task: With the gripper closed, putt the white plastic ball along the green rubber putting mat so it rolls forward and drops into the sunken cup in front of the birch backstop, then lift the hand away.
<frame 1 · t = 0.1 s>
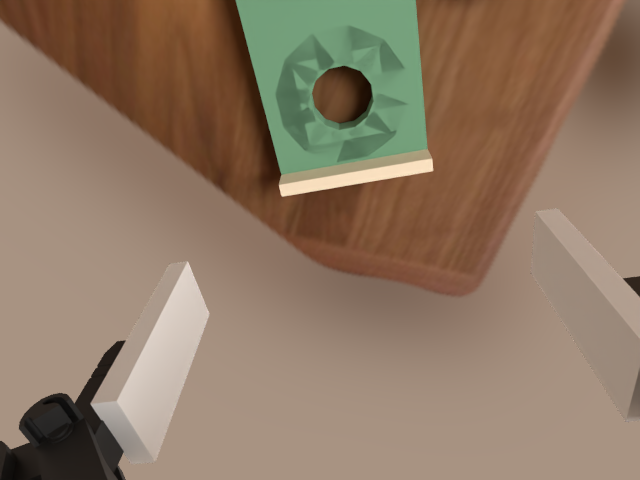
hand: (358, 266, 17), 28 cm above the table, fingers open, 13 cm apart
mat: (329, 22, 38), on the table
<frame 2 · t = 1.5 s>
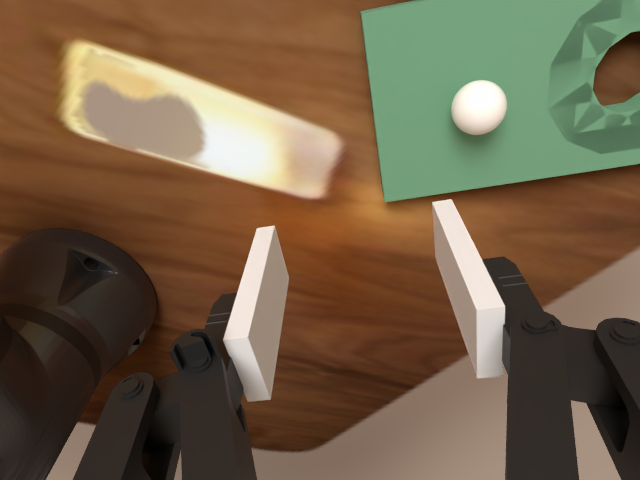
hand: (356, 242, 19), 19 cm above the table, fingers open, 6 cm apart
ball: (478, 107, 30), point 4 cm above the table, touching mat
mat: (533, 82, 33), on the table
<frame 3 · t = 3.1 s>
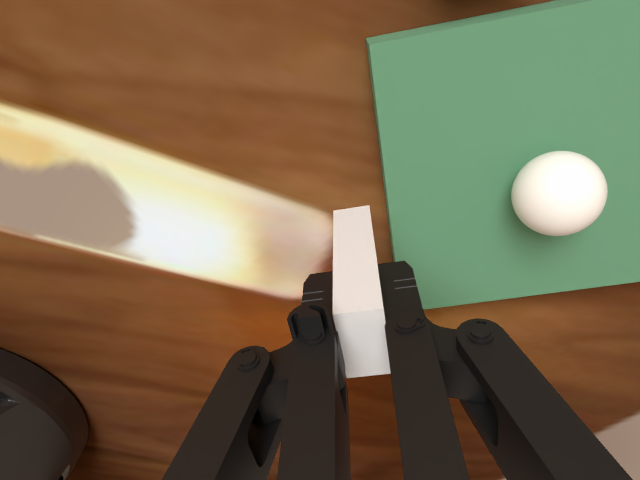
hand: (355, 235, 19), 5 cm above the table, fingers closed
ball: (557, 193, 19), point 4 cm above the table, touching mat
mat: (630, 143, 22), on the table
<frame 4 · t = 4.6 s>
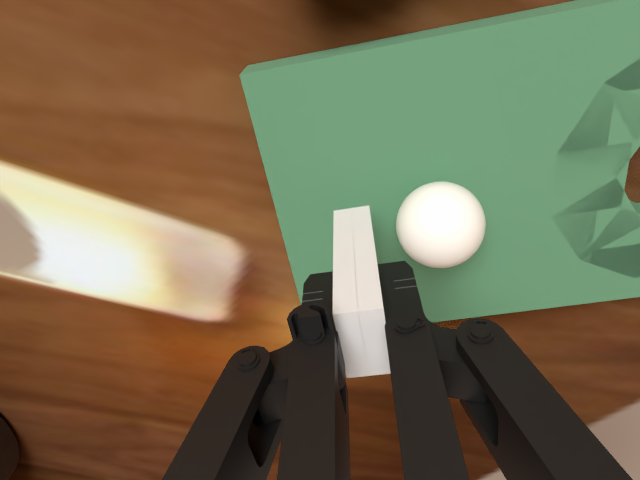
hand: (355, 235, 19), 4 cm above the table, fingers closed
ball: (439, 224, 19), point 4 cm above the table, touching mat
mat: (529, 170, 21), on the table
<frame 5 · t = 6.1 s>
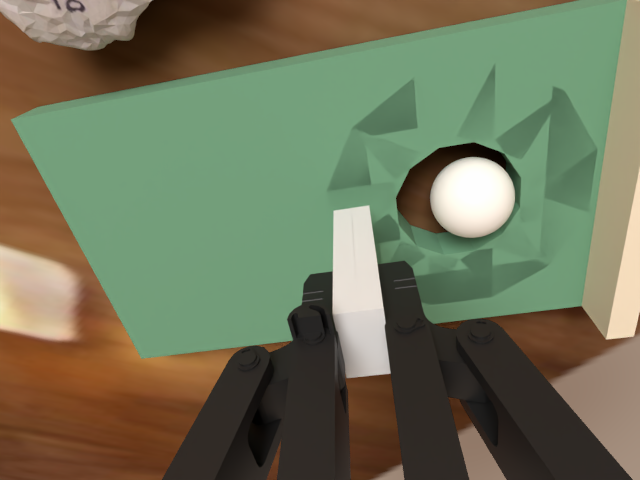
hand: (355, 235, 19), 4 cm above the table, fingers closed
ball: (471, 197, 20), point 2 cm above the table, tilted 33°
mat: (326, 203, 22), on the table
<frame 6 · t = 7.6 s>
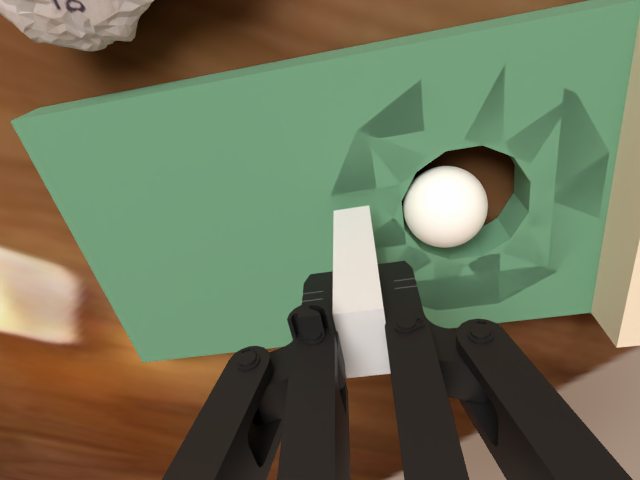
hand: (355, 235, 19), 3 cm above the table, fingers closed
ball: (444, 207, 20), point 2 cm above the table, tilted 14°
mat: (330, 206, 22), on the table
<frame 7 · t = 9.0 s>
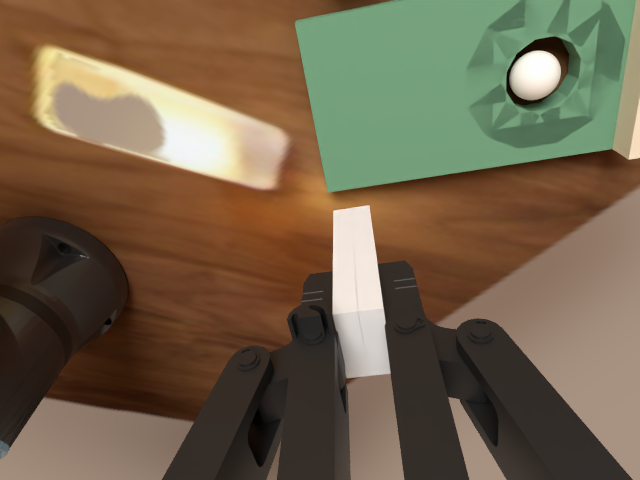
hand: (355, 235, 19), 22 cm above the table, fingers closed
ball: (534, 75, 34), point 2 cm above the table
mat: (457, 83, 37), on the table
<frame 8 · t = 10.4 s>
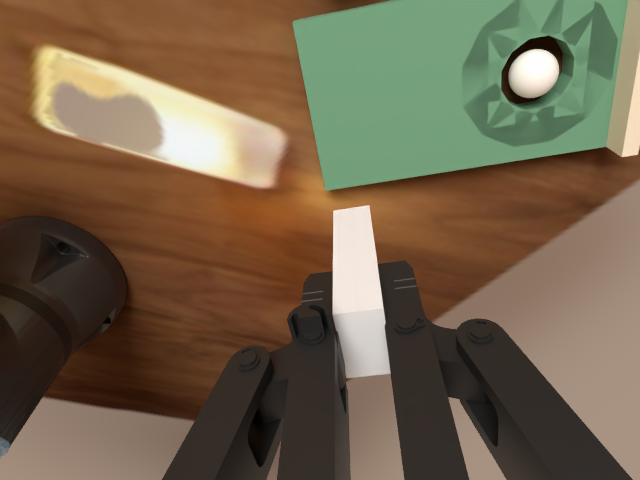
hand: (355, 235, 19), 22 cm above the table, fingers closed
ball: (533, 74, 35), point 2 cm above the table, tilted 6°
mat: (452, 82, 37), on the table
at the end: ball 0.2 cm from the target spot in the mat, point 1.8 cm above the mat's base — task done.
